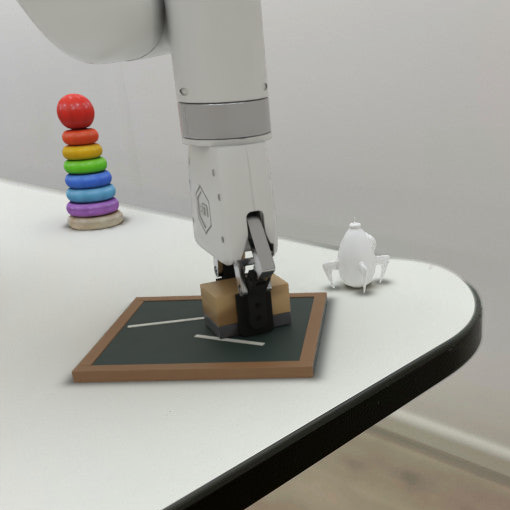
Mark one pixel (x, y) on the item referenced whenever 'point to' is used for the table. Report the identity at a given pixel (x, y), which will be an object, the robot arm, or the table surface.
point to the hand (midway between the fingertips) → (246, 322)
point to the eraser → (224, 305)
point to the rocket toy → (356, 259)
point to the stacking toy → (86, 168)
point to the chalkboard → (202, 344)
